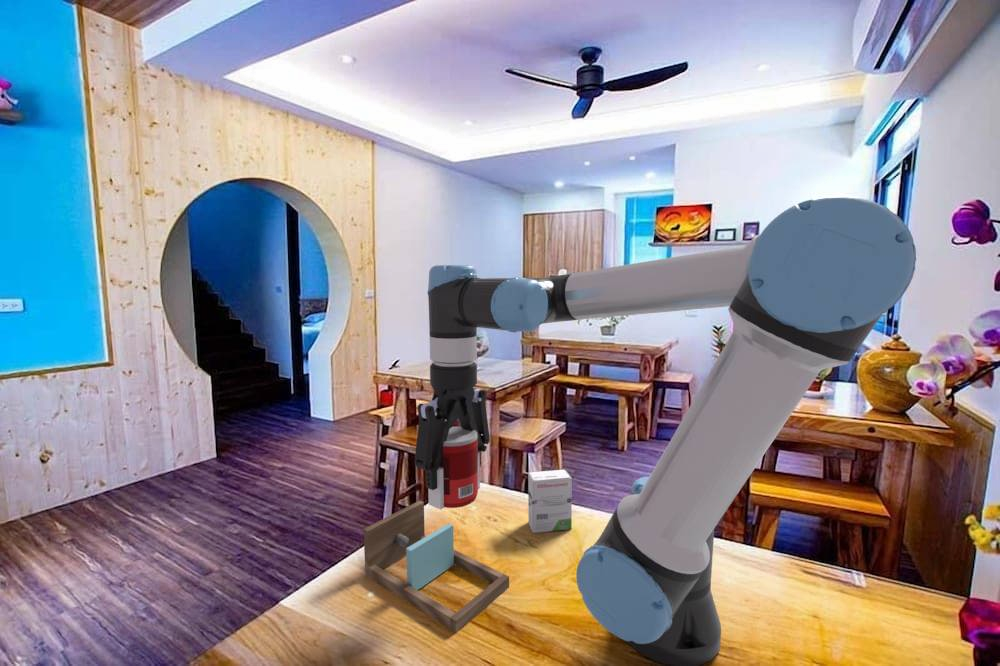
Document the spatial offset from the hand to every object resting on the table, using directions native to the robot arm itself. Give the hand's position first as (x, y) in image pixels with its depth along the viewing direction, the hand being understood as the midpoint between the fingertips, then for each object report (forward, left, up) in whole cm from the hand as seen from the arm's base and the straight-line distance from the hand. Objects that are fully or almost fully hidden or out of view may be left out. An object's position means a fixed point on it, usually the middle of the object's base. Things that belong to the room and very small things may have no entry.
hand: (455, 495), depth 79 cm
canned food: (0, 0, 0) cm, 0 cm away
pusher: (+7, 0, -17) cm, 18 cm away
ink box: (-1, -28, -18) cm, 33 cm away
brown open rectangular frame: (+5, 0, -17) cm, 18 cm away
